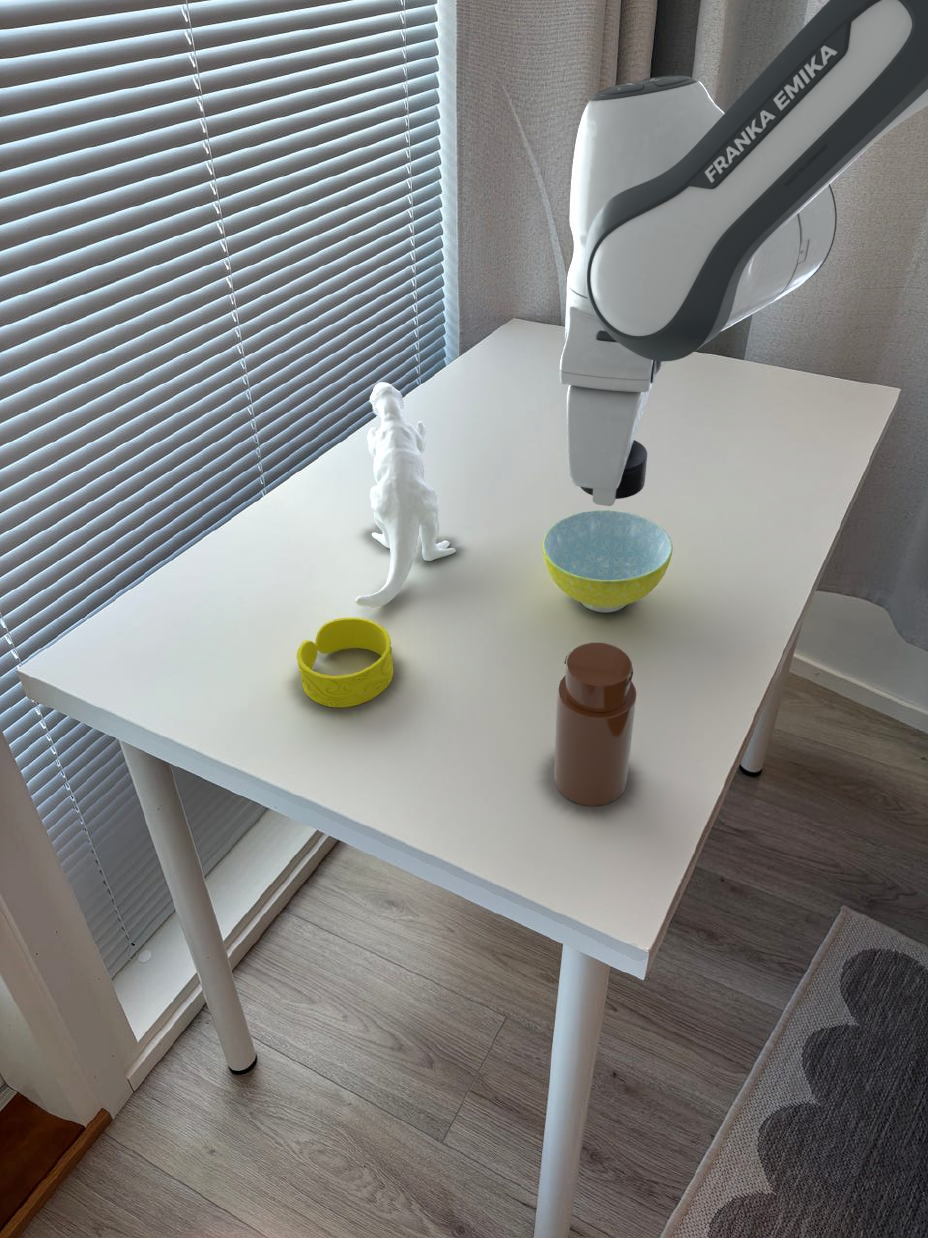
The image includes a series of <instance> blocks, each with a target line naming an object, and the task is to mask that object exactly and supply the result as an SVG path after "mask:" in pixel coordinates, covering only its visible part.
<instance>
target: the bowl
mask: <svg viewBox="0 0 928 1238" xmlns="http://www.w3.org/2000/svg"><path fill="white" fill-rule="evenodd" d="M673 547H674V546H673V542H672V539H671V536H670V535H669V534H668V533H667V531H666V530H665V529H664V528H663V527H661V526H660V525H659V524H658V523H656V522H654V521H653V520H651V519H649V518H647V517H645V516H642V515H640V514H637V513H632V512H628V511H623V510H616V509H615V510H614V509H592V510H584V511H580V512H576V513H573V514H570V515H567V516H565V517H563V518H562V519H559V520H558V521H557V522H555V523H554V524H552V525H551V526H550V528H549V529H548V530H547V531H546V533H545V535H544V537H543V540H542V552H543V553H542V554H543V560H544V563H545V566H546V569H547V571H548V574H549V575H550V577H551V579H552V581H553V582H554V583H555V585H556V586H557V587H558V588H559V589H560V590H561V591H562V592H563V593H564V594H566V595H567V596H568V597H570V598H571V599H573V600H575V601H577V602H580V603H581V604H582V606H584V607H585V608H586V609H588V610H591V611H593V612H596V613H597V612H598V613H606V614H607V613H613V612H618V611H620V610H622V609H623V608H624V607H626V606H627V605H631V604H633V603H635V602H638V601H640V600H641V599H642V598H644V597H646V596H647V595H649V594H650V593H651V592H652V591H653V590H654V589H655V588H656V587H657V586H658V585H659V584H660V582H661V581H662V579H663V577H664V576H665V575H666V572H667V570H668V568H669V565H670V562H671V559H672V555H673V551H674V550H673Z"/></svg>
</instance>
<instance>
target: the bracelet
mask: <svg viewBox="0 0 928 1238" xmlns="http://www.w3.org/2000/svg"><path fill="white" fill-rule="evenodd" d="M391 645H392V641H391V636H390V634H389V632H388V630H386V629H385V627H383V626H382V625H381V624H379V623H377V622H375V621H373V620H369V619H366V618H362V617H339V618H335V619H332V620H329V621H327V622H325V623H323V625H321V627H319V630H318V631H317V633H316V636H315V642H313V641H312V640H309V639H306V640H303V641H302V642H301V644H300V645H299V647H298V649H297V651H296V661H297V665H298V668H299V669H298V670H299V674H300V680H301V685H302V689H303V692H304V694H305V695H306V696H307V697H308V698H309V699H311V700H312V701H313V702H315V703H317V704H320V705H322V706H325V707H329V708H349V707H354V706H358V705H361V704H365V703H366V702H369V701H371V700H372V699H374V698H376V697H377V696H378V695H380V694H381V693H383V692H384V691H385V690H386V689H387V687H388V686H389V685H390V684H391V682H392V680H393V676H394V665H393V664H394V663H393V661H394V660H393V652H392V650H393V649H392V646H391ZM347 649H365V650H369V651H371V652H373V653H376V654H378V655H379V656H380V657H379V658H378V660H376V661H375V662H373V663H371V665H370V666H368V667H365V668H364V669H361V670H359V671H357V672H353V673H350V674H343V675H342V674H341V675H328V674H323V673H319V672H317V671H314V670H313V669H312V668H313V667H314V664H315V663H316V660H317V657H318V653H320V654H325V655H327V654H332V653H334V652H338V651H340V650H347Z"/></svg>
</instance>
